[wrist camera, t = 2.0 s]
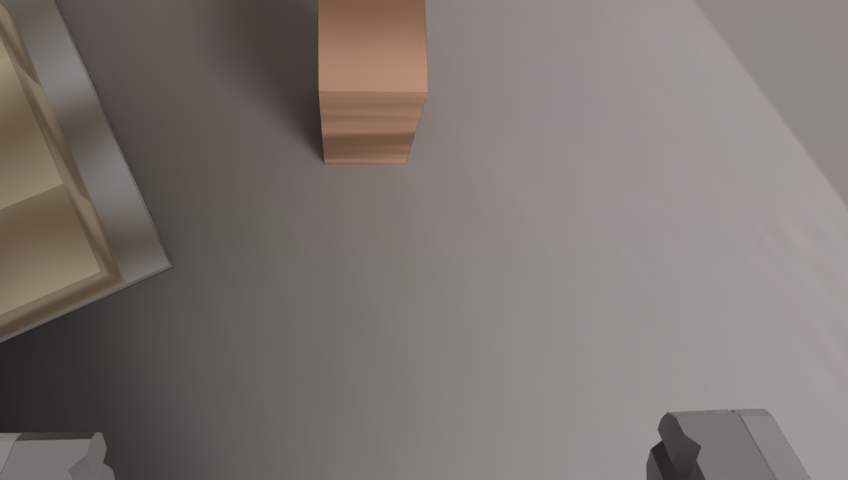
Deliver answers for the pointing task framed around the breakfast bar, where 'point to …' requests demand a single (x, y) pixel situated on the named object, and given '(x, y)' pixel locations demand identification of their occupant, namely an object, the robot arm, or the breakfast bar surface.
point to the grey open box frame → (61, 180)
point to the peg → (371, 78)
